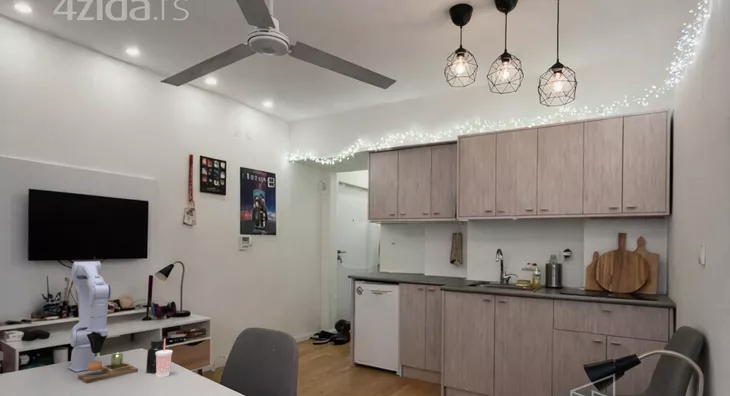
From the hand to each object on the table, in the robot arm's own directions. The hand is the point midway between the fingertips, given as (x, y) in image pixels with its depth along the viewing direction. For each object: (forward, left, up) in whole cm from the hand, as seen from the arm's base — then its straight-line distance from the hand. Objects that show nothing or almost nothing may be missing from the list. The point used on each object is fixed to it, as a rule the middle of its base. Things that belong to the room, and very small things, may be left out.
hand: (96, 352), depth 163 cm
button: (0, 0, -6) cm, 6 cm away
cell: (0, +8, -8) cm, 11 cm away
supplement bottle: (+9, +19, -10) cm, 23 cm away
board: (0, +5, -9) cm, 11 cm away
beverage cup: (+17, +18, -10) cm, 27 cm away
